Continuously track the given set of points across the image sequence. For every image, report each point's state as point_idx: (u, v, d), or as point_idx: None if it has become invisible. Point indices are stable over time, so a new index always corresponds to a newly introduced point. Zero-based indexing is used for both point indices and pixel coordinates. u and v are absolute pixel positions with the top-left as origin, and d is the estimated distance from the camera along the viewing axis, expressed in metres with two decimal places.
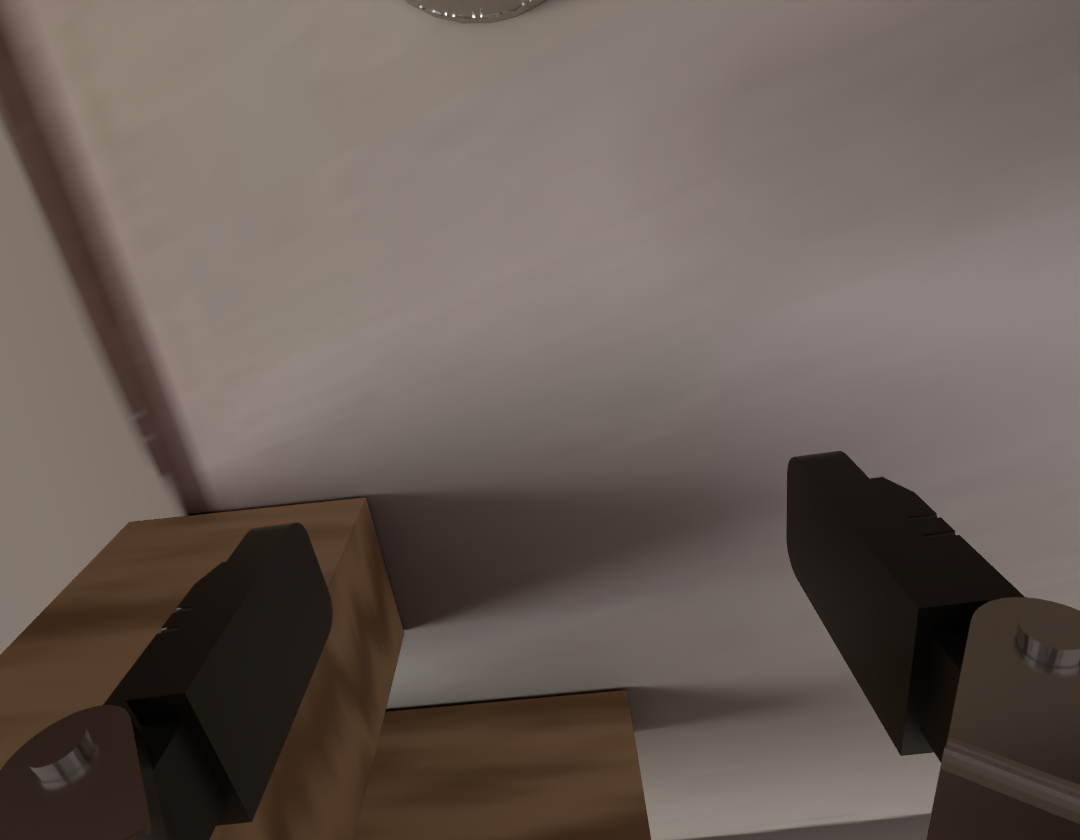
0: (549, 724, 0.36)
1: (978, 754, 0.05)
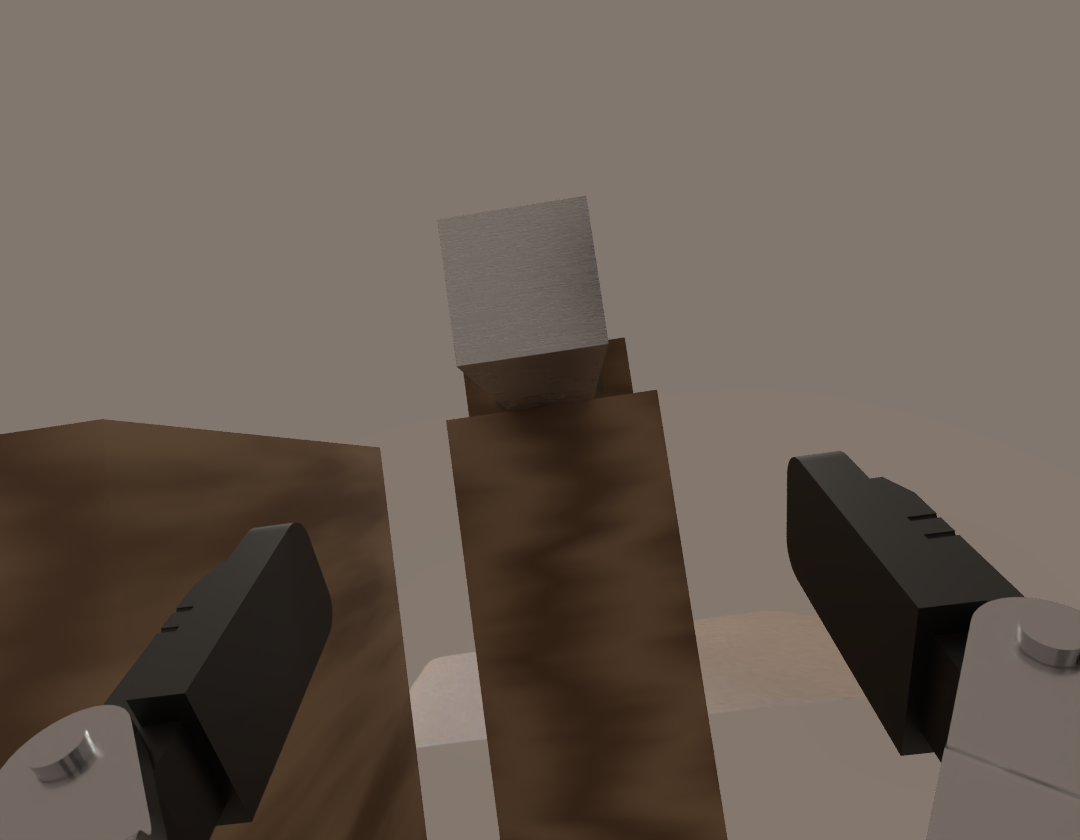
0: None
1: (979, 754, 0.05)
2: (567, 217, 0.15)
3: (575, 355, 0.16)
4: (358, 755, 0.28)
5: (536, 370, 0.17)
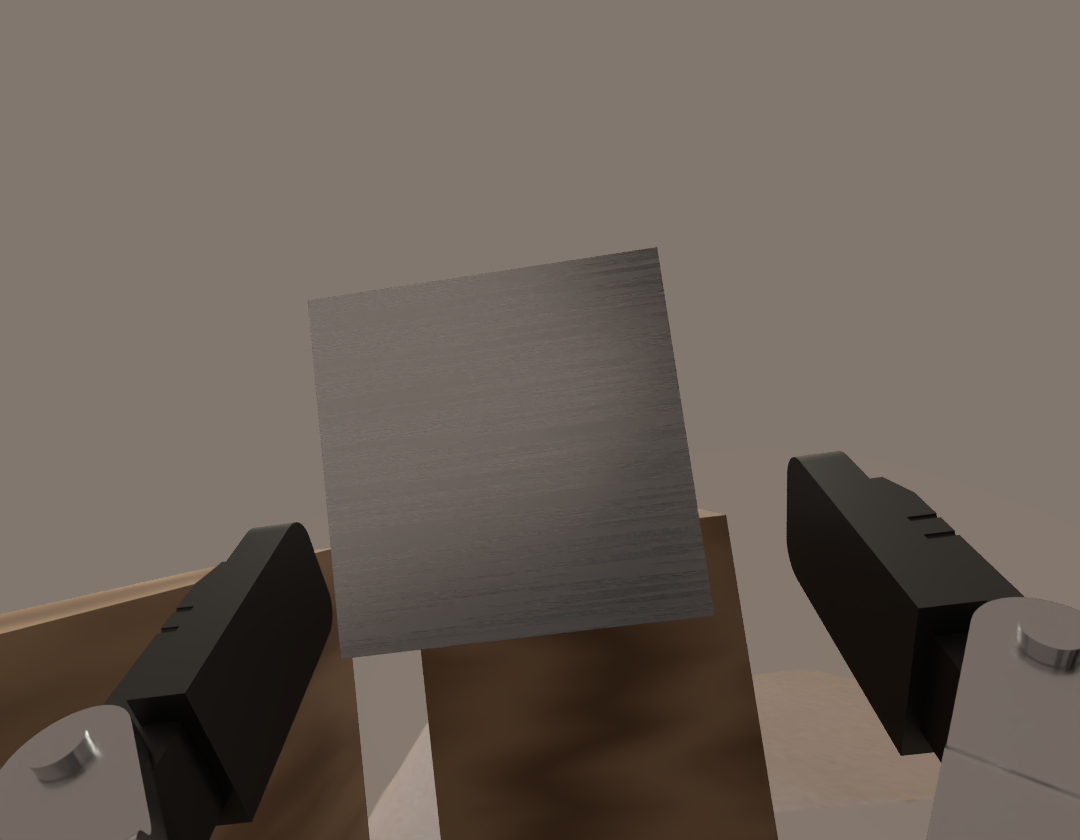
0: None
1: (978, 754, 0.05)
2: (612, 298, 0.06)
3: None
4: None
5: None
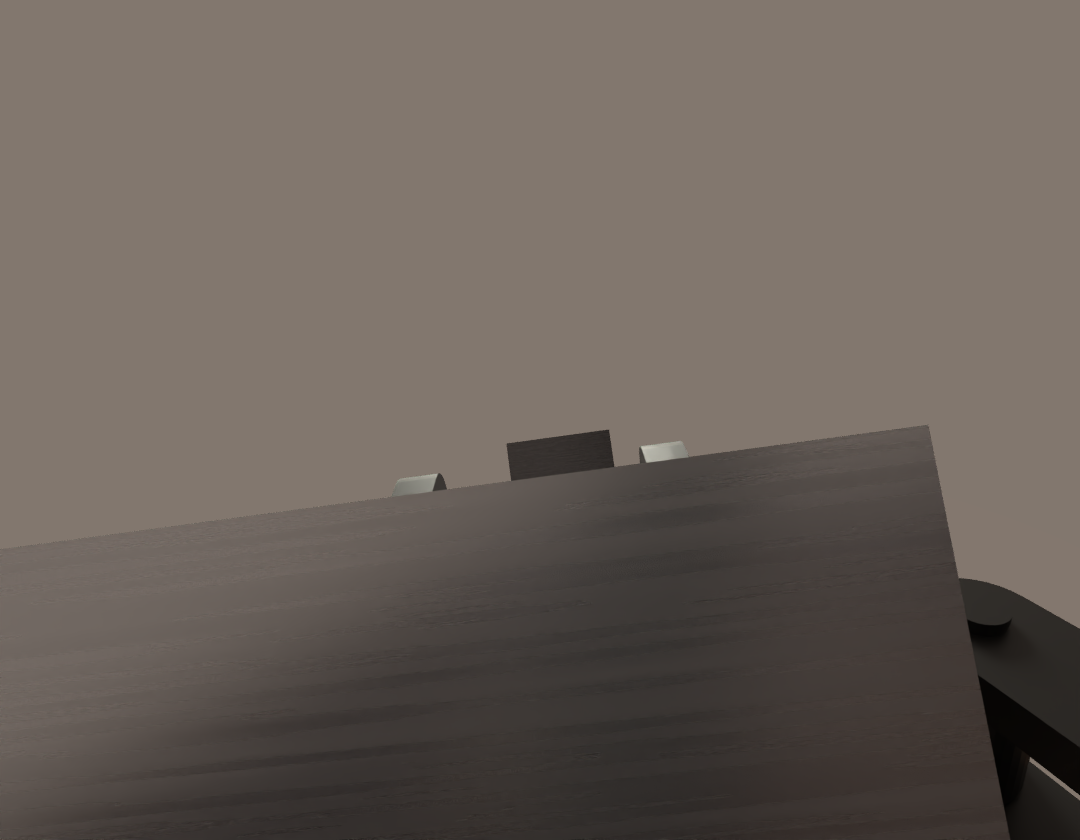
0: None
1: None
2: (786, 593, 0.02)
3: None
4: None
5: None
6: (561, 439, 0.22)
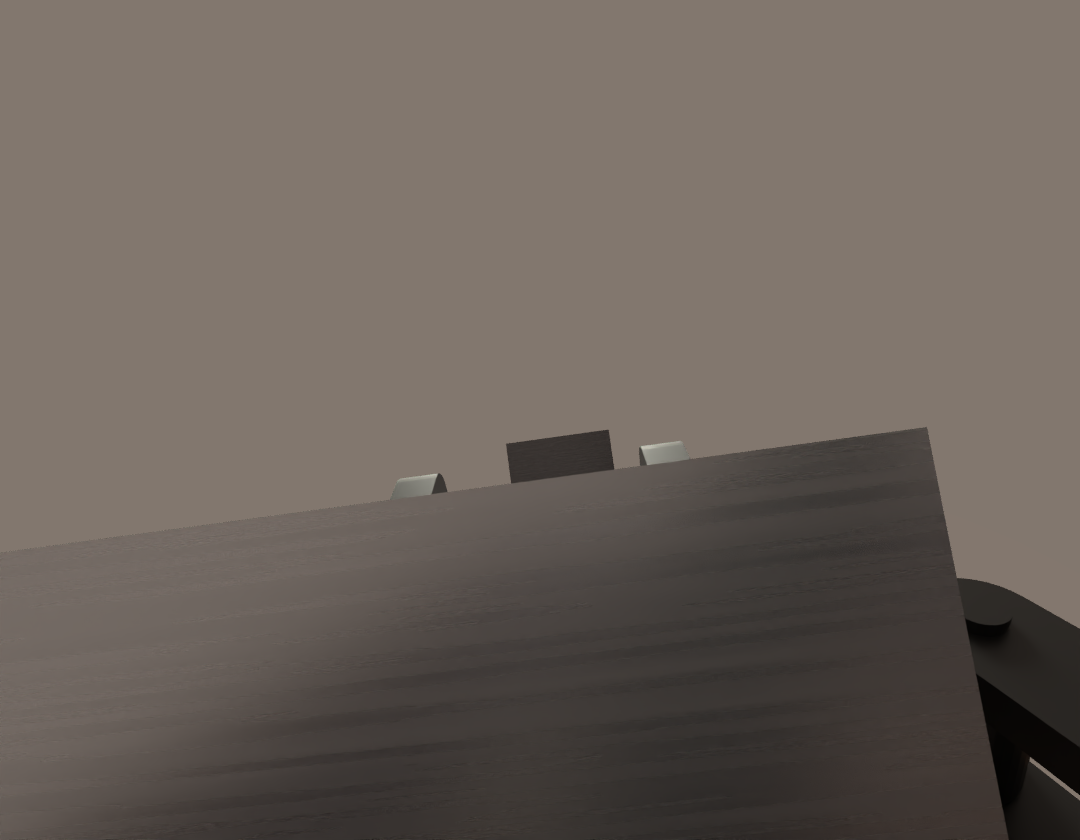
0: None
1: None
2: (785, 596, 0.02)
3: None
4: None
5: None
6: (561, 439, 0.22)
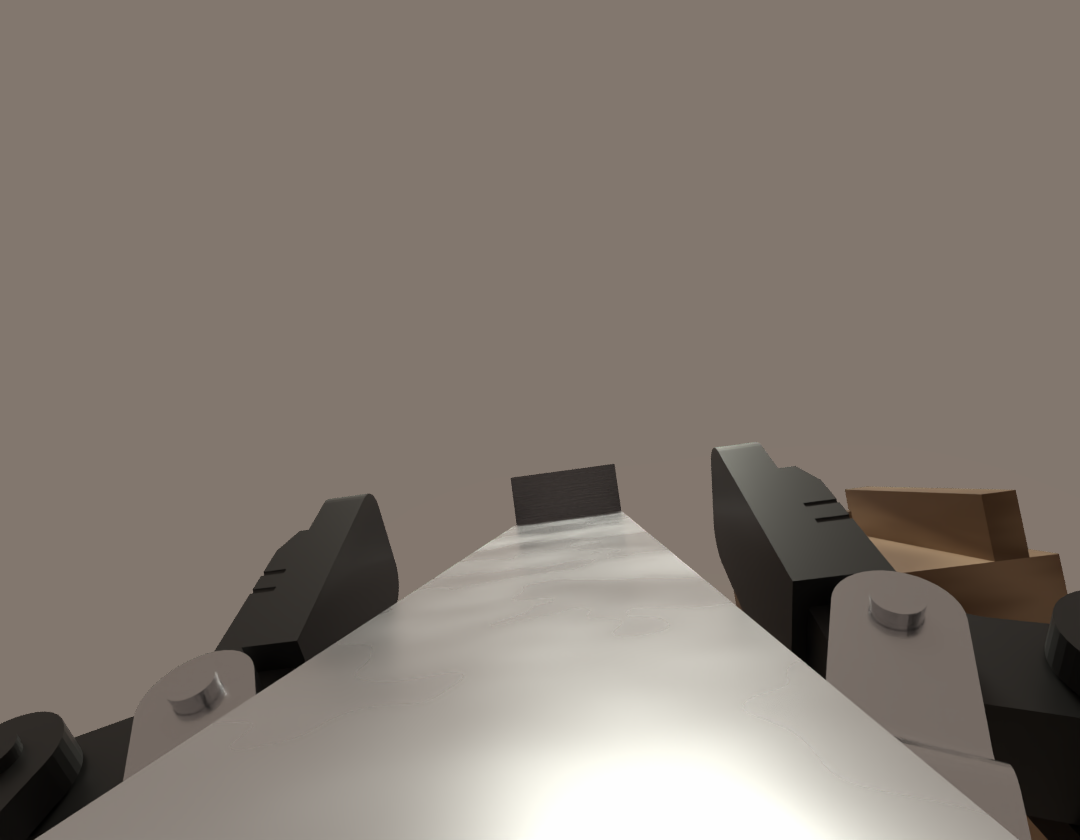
0: None
1: None
2: None
3: None
4: None
5: None
6: (566, 473, 0.22)
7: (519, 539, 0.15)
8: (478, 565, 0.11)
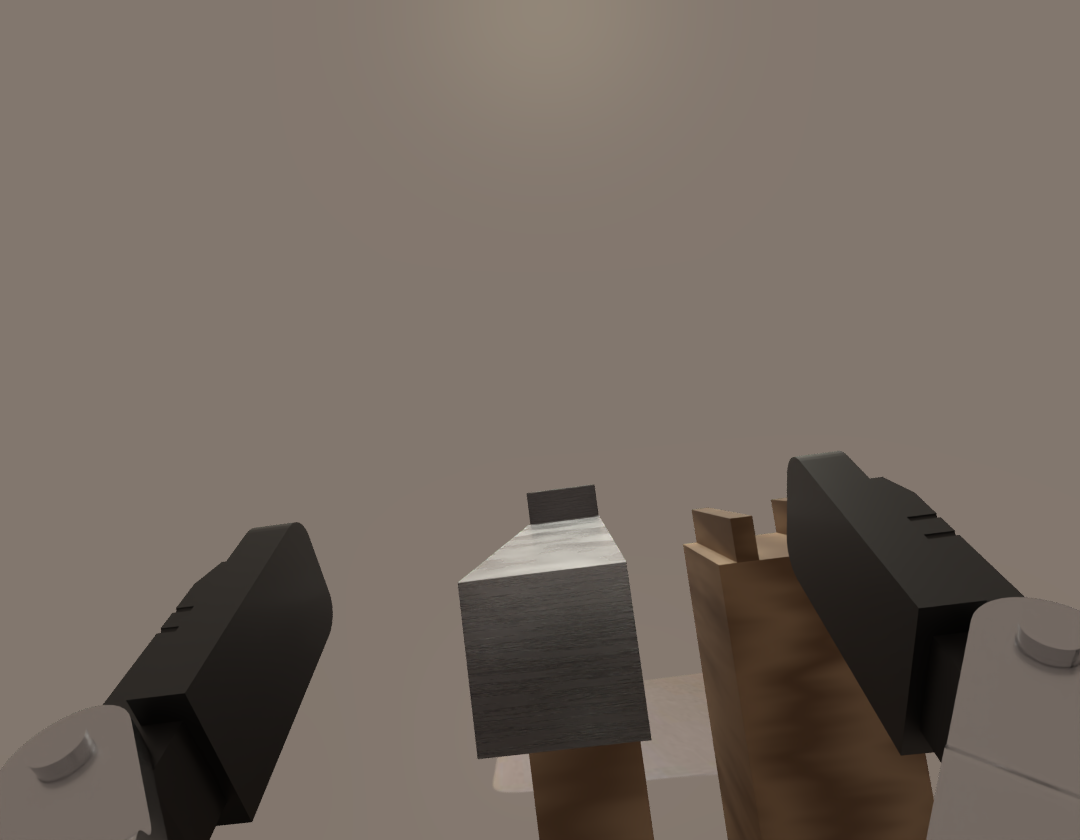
0: None
1: (978, 755, 0.05)
2: (604, 586, 0.13)
3: None
4: None
5: None
6: (563, 490, 0.33)
7: (536, 531, 0.27)
8: (521, 541, 0.22)
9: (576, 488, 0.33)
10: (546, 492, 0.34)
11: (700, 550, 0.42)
